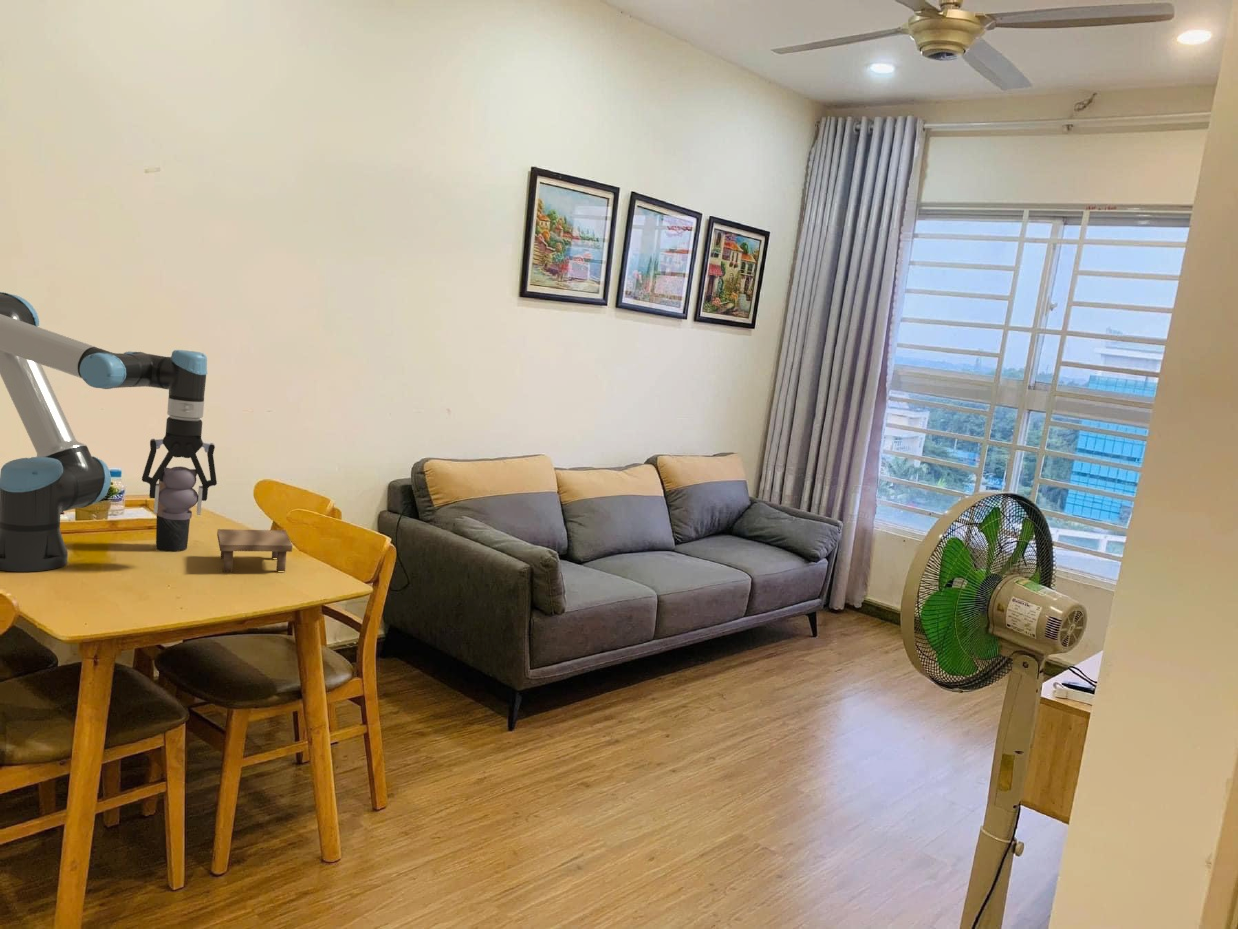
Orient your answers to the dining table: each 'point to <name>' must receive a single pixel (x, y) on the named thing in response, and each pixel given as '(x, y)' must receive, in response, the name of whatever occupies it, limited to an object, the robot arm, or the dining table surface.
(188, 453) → the robot arm
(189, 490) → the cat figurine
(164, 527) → the travel mug
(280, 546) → the footstool
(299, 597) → the dining table surface
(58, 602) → the dining table surface
